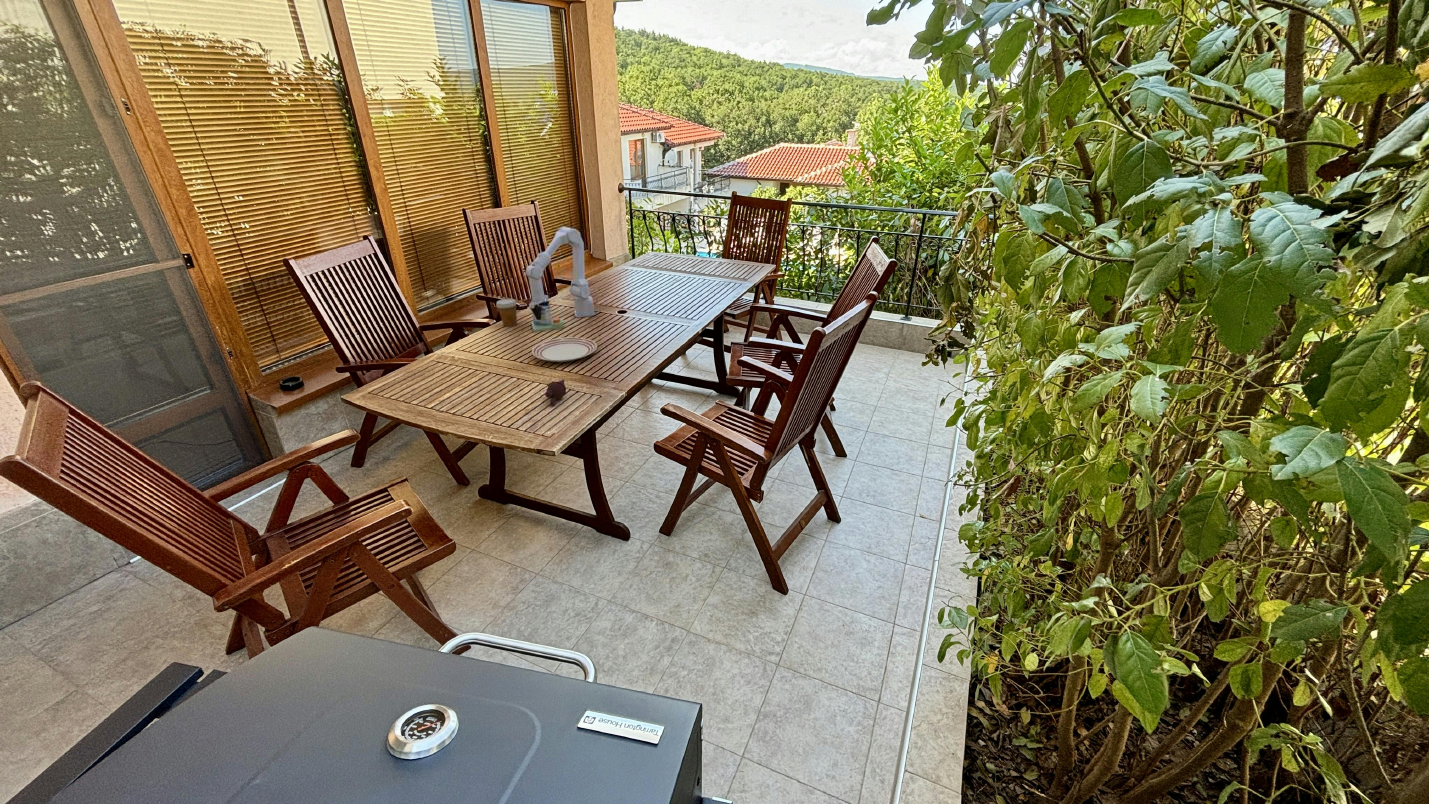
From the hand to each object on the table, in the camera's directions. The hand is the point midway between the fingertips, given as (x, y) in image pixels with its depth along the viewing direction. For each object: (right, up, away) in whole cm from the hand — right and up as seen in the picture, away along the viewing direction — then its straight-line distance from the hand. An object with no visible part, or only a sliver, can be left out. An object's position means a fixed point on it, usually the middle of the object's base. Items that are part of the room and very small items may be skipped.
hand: (541, 317), depth 290 cm
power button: (+8, -2, -1) cm, 8 cm away
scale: (+2, -4, +2) cm, 5 cm away
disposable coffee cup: (-17, -3, +5) cm, 18 cm away
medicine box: (0, -3, +1) cm, 3 cm away
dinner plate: (+19, -20, -31) cm, 42 cm away
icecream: (+26, -40, -68) cm, 83 cm away
